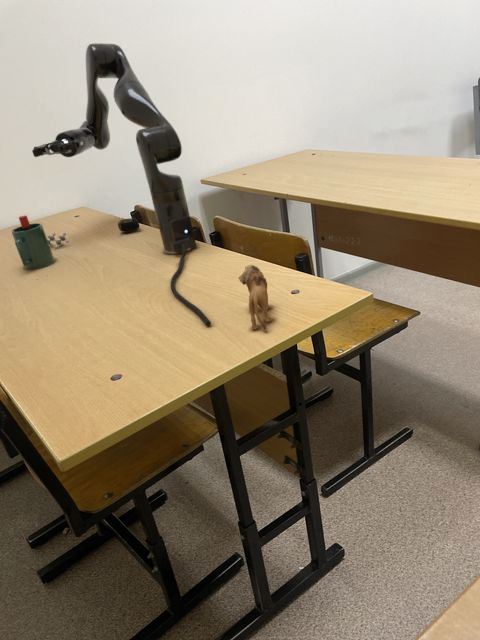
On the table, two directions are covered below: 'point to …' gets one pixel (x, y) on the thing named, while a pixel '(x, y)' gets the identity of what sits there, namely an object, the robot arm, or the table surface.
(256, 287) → the brown animal figure
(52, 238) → the molecular model
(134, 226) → the tape measure
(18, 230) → the mug
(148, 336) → the table surface
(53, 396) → the table surface
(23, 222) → the marker
